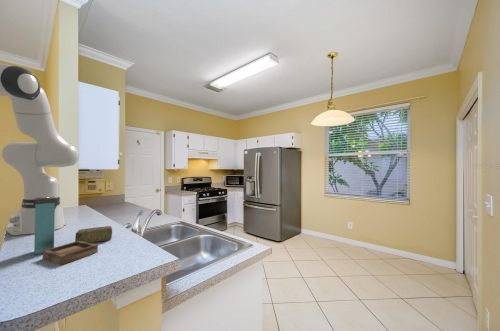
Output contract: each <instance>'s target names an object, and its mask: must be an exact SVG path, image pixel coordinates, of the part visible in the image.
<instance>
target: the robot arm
mask: <svg viewBox="0 0 500 331" xmlns="http://www.w3.org/2000/svg"><path fill="white" fill-rule="evenodd" d="M40 84H41V83H40V81H39V79H38V78H37V77H36V75H35V74H34V73H33V72H32V71H30V70H28V69H26V68H23V67H21V66H18V65H11V64H7V63H2V62H0V96H1V97H2V96H3V97H4V96H7V97H8V98H9V99H10V100H11V105H12V110H13V114H14V118H15V121H16V125H17V129H18V130H19V131H20V132H21V133H22V134H23V135H26V136H27V137H28V136H29V137H30V138H32V139H33V140H35V141H36V142H35V141H34V142H33V141H32V142H31V141H20V142H19V141H18V142H11V143H7V144H6V145H5V146H4V147H3V148H2V150H1V158H2V160H3V161H4V162H5V163H6V164H7V165H9V166H11V167H12V168H13V169H15V170H16V171H17V172H18V174H19V175H20V177H21V179H22V181H23V182H22V183H23V192H24V194H23V197H24V198H23V199H22V202H21V205H20V209H19V210H18V211H17V212H16V213H15V214H14V215H13V216H12V217H9V221H8V222H9V224H12V225H8V226H6V227H4V231H5V232H6V233H7V234H8V235H10V236H21V235H31V234H33V235H35V198H40V197H55V217H54V231H55V230H56V231H57V230H59V229H61V228H63V227H64V226H66V225H67V224H68V223H67V221H65V219H64V210H63V207H61V197H60V196H59V195H60V193H59V192H60V182H59V180H58V178H56V177H55V176H53V175H51V174H48V173H47V172H46V171H45V168H64V167H65V168H66V167H71V166H74V165H76V163H77V162H78V161H79V157H80V153H79V150H78V148H76V146H74V145H72V144H71V143H69V142H67V141H66V140H65V139H64V138H63V137H62V136H61V135H60V134H59V132H58V131H57V128H56V125H55V122H54V117H53V114H52V109H51V105H50V102H49V99H48V97H47V96H48V95H47V94H46V92H45V90H44V89H43V88H42V87H41V85H40Z"/></svg>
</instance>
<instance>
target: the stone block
mask: <svg viewBox="0 0 500 331" xmlns="http://www.w3.org/2000/svg"><path fill="white" fill-rule="evenodd" d="M112 237H113V227H112V226H111V225H108V226H107V225H106V226H99V227H98V226H96V227H90V228H89V227H88V228H81V229H78V230H77V231H76V233H75V238H74V240H75V241H74V242H76V241H83V242H88V243H92V244H95V243H99V242H105V241H109V240H112Z"/></svg>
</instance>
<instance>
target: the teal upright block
mask: <svg viewBox="0 0 500 331" xmlns="http://www.w3.org/2000/svg"><path fill="white" fill-rule="evenodd" d="M54 217H55V197H40V198H35V233H34V242H33V243H34V246H33V247H34V249H33V251H34V252H33V253H34V255H33V256H39V255H43V251H44V250H48V249H51V248H55V230H54Z"/></svg>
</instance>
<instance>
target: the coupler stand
mask: <svg viewBox="0 0 500 331" xmlns="http://www.w3.org/2000/svg"><path fill="white" fill-rule="evenodd" d="M98 246H99V245H98V244H96V243H88V242H83V241H76V242H75V241H73V242H70V243H66V244H63V245H59V246H54V248H51V249H48V250H44V251H43V254H42V260H44V261H48V262H51V263H54V264H58V265H61V266H64V265H66V264H69V263H71V262H74V261H78V260H80V259H84V258H85V257H88V256H91V255H94V254H96V253H98V251H99V250H98V248H99V247H98Z"/></svg>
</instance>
